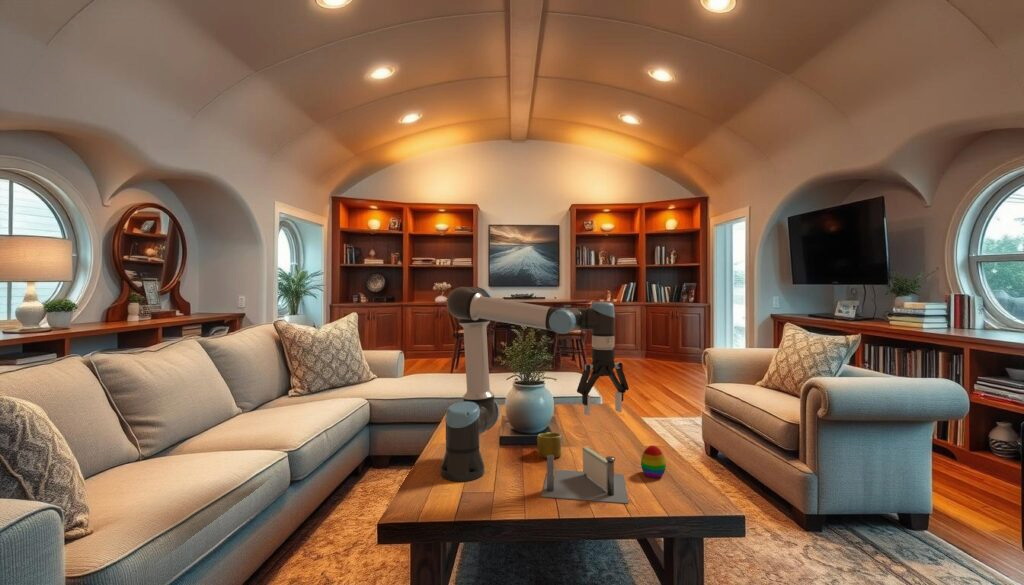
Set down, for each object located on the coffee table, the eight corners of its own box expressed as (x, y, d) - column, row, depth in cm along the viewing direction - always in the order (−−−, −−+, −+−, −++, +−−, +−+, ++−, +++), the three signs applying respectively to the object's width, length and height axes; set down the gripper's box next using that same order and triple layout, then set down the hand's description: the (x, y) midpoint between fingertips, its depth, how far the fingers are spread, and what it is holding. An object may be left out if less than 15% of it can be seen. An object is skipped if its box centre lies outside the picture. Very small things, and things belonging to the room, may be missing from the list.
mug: (564, 457, 171) (557, 429, 174) (538, 463, 173) (531, 436, 176) (569, 452, 183) (562, 427, 185) (544, 458, 185) (537, 433, 187)
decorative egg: (668, 473, 161) (668, 444, 161) (662, 481, 154) (662, 451, 154) (644, 468, 165) (644, 440, 165) (638, 476, 158) (638, 447, 158)
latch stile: (546, 492, 146) (547, 457, 145) (547, 488, 148) (547, 454, 148) (555, 493, 145) (555, 457, 145) (555, 489, 148) (556, 454, 148)
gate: (610, 491, 145) (610, 461, 145) (605, 492, 145) (605, 462, 145) (586, 473, 159) (586, 446, 159) (582, 474, 159) (582, 447, 159)
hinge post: (606, 496, 142) (606, 459, 142) (605, 493, 145) (605, 456, 145) (615, 497, 142) (615, 459, 142) (615, 493, 145) (615, 456, 145)
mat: (541, 497, 142) (541, 496, 142) (548, 469, 164) (548, 469, 164) (628, 503, 138) (628, 502, 138) (623, 475, 159) (623, 474, 159)
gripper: (577, 351, 149) (577, 419, 149) (639, 348, 157) (639, 412, 157) (566, 348, 156) (566, 413, 156) (626, 345, 164) (626, 407, 164)
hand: (603, 412), depth 157 cm, fingers open, 11 cm apart
